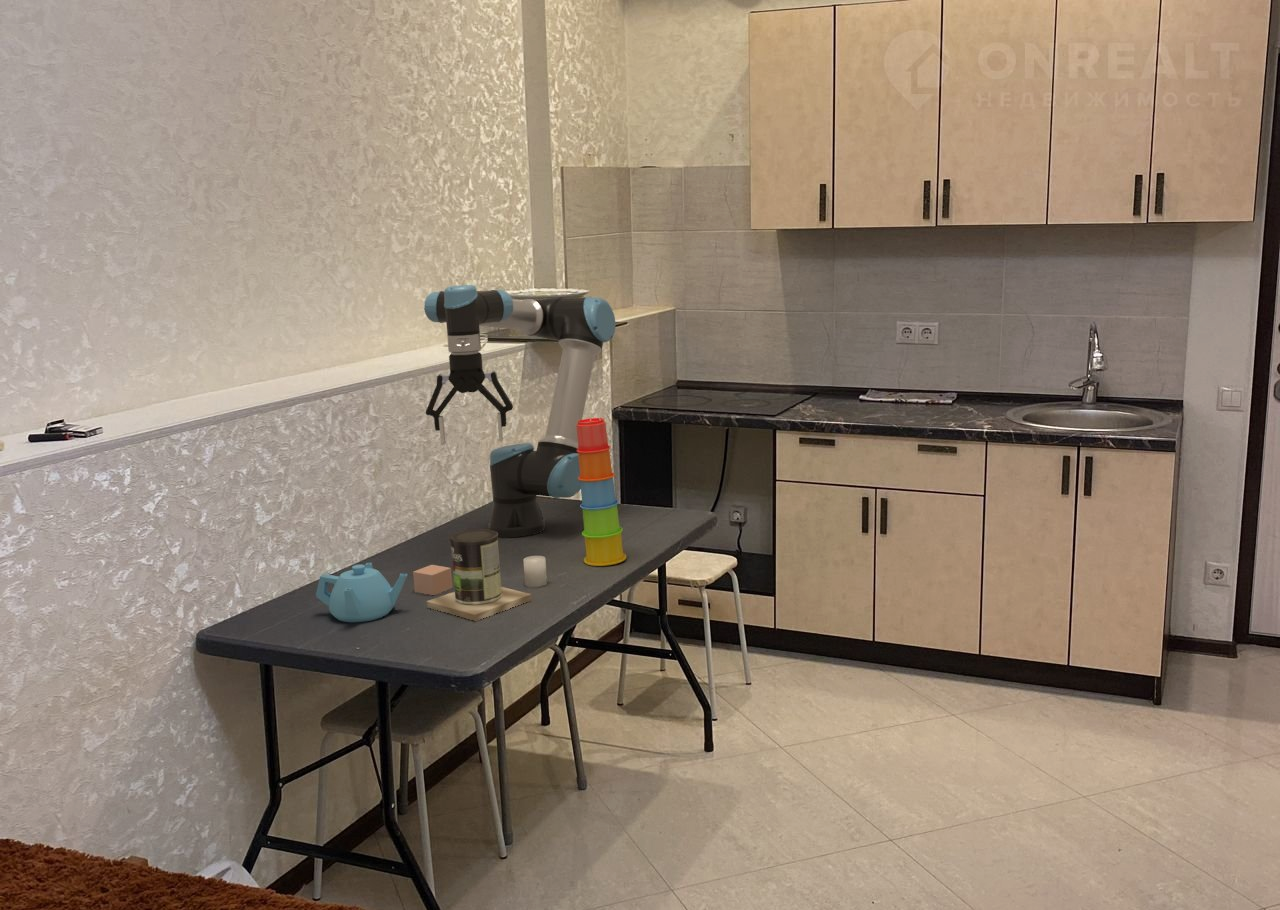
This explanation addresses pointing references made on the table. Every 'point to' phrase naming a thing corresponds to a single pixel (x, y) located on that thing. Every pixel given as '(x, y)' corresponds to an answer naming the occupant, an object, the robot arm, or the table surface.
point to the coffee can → (476, 566)
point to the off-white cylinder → (535, 571)
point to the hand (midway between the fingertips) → (472, 442)
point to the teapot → (359, 594)
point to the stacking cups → (598, 495)
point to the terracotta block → (432, 579)
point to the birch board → (479, 611)
